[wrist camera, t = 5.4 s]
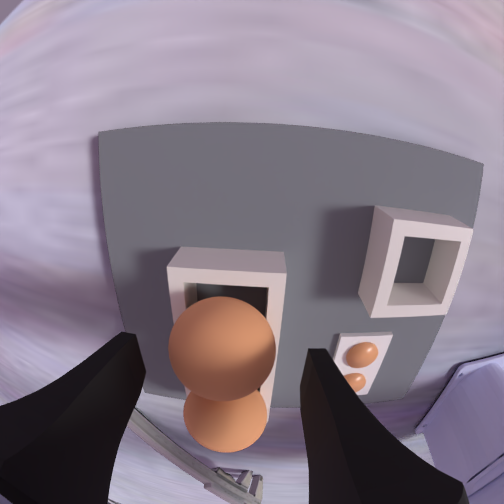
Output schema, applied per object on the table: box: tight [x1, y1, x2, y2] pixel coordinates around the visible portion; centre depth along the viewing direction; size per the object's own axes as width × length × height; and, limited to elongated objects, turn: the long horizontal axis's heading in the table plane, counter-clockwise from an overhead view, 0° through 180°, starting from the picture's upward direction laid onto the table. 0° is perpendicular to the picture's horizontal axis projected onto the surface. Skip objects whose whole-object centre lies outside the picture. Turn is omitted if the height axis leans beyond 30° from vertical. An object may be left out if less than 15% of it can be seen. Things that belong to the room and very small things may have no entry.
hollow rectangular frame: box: [167, 247, 287, 422], centre depth 13 cm, size 10×4×2 cm, turn 178°
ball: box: [168, 296, 276, 401], centre depth 10 cm, size 4×4×4 cm
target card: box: [333, 332, 393, 395], centre depth 14 cm, size 5×3×1 cm, turn 178°
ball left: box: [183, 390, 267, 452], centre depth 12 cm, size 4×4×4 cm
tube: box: [358, 205, 474, 318], centre depth 11 cm, size 4×4×2 cm
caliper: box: [127, 408, 263, 504], centre depth 18 cm, size 20×1×6 cm, turn 40°
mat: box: [99, 122, 484, 408], centre depth 13 cm, size 16×18×1 cm
